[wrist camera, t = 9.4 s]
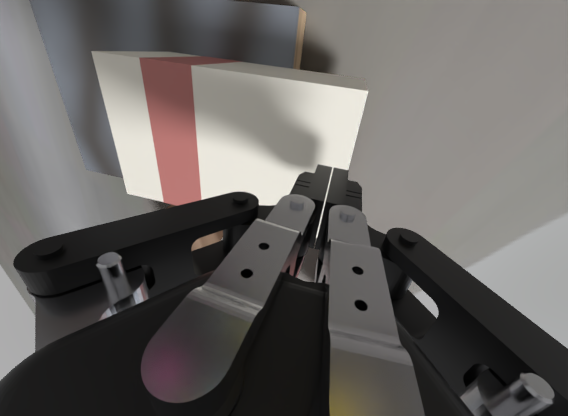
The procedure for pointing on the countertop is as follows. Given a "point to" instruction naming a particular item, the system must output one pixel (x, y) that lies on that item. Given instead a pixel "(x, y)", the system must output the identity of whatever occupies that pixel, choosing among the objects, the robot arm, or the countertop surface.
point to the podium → (153, 48)
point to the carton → (224, 124)
